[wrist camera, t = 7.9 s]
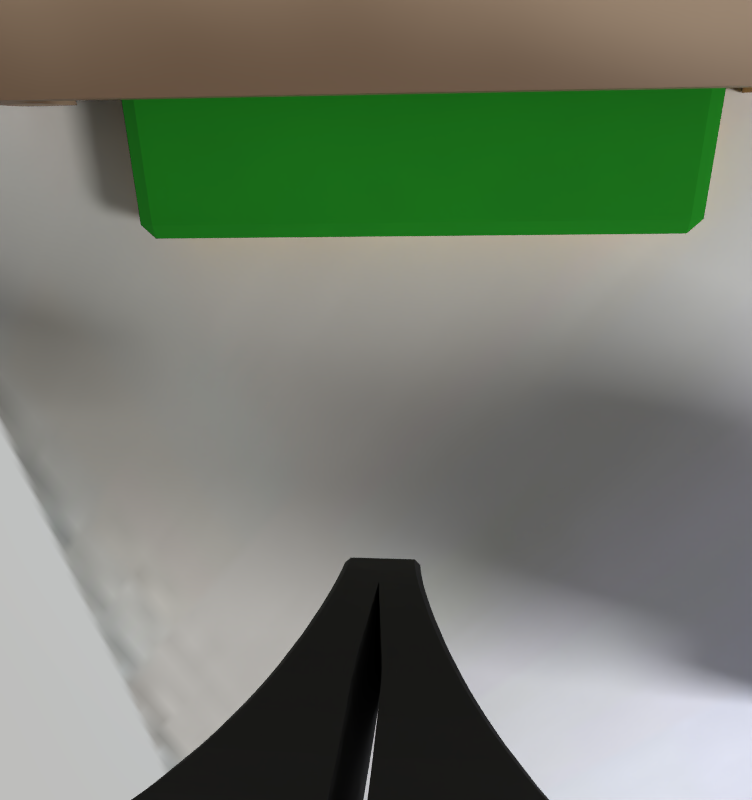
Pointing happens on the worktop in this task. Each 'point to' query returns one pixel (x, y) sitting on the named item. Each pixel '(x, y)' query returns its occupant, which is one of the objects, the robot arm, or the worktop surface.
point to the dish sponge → (424, 163)
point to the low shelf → (365, 47)
